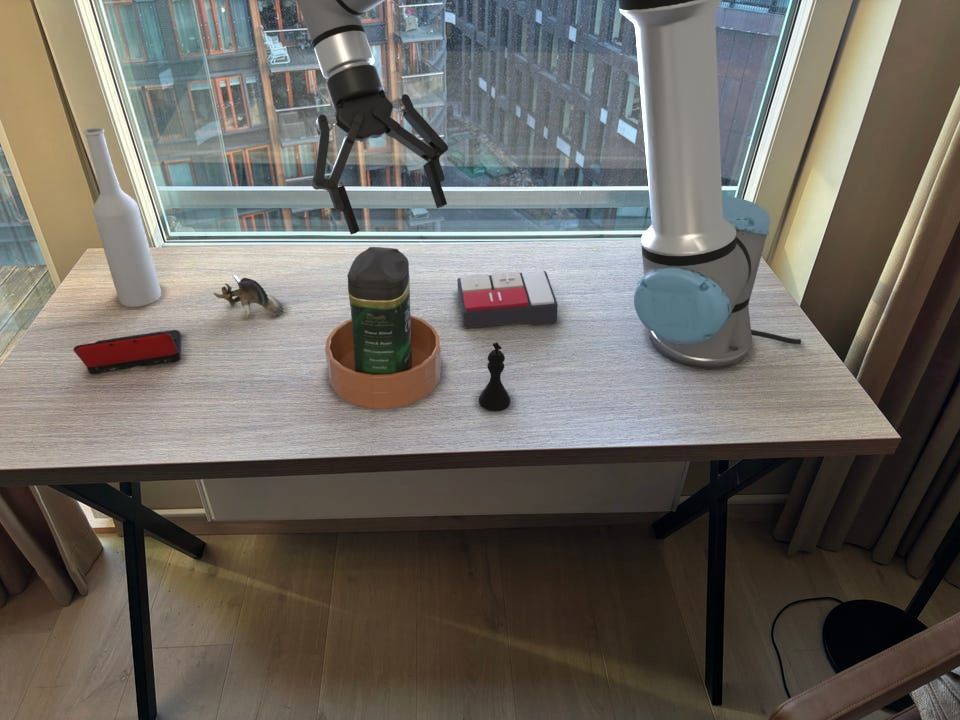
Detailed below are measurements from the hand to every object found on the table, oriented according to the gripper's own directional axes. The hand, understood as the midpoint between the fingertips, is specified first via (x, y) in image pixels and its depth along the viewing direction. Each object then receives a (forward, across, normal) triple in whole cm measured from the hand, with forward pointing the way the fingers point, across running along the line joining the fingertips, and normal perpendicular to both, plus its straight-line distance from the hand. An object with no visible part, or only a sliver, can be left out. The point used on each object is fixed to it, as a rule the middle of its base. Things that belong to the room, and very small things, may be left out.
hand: (399, 219), depth 111 cm
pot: (+20, +9, -1) cm, 22 cm away
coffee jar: (+20, +9, -1) cm, 22 cm away
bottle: (-2, +37, -31) cm, 49 cm away
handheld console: (+8, +40, -15) cm, 44 cm away
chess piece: (+28, -2, +9) cm, 30 cm away
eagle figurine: (+6, +22, -21) cm, 31 cm away
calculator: (+18, -15, -9) cm, 25 cm away
